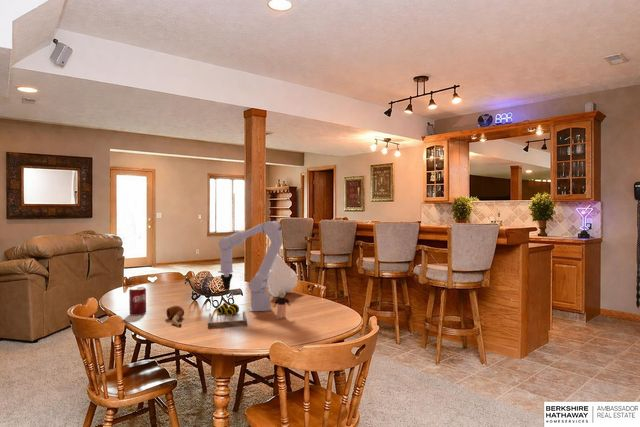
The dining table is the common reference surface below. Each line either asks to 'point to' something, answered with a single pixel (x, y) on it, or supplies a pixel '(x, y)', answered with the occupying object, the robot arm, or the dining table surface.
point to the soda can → (137, 301)
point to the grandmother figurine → (281, 305)
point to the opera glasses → (228, 309)
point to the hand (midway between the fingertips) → (226, 289)
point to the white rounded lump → (281, 277)
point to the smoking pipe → (175, 314)
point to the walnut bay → (227, 322)
